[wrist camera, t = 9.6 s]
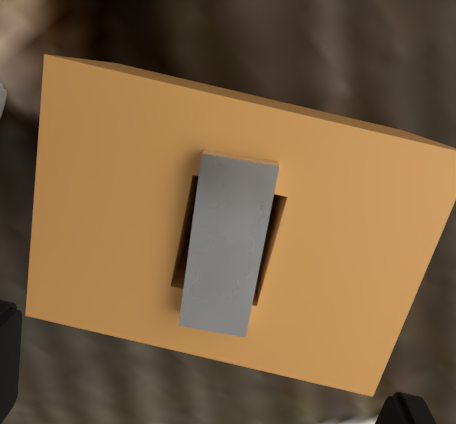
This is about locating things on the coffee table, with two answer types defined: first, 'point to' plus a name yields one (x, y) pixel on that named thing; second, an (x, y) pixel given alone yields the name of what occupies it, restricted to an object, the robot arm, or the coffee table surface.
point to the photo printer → (2, 98)
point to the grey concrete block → (227, 241)
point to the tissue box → (184, 209)
